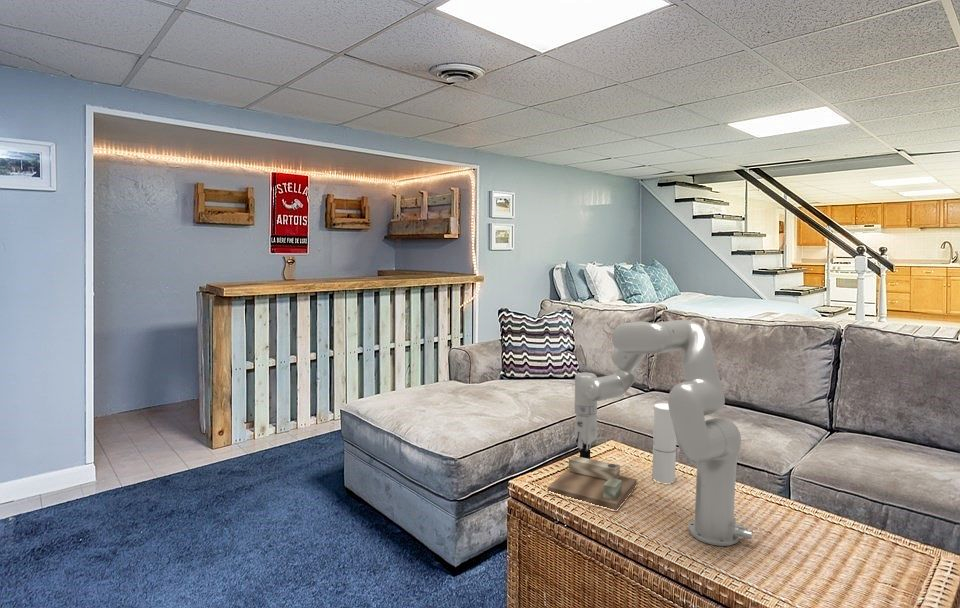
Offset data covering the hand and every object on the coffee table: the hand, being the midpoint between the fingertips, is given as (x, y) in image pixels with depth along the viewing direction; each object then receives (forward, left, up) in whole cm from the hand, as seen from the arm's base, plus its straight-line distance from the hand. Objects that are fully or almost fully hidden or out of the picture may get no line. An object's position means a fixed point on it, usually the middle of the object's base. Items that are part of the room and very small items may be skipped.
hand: (584, 460), depth 188 cm
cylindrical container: (-25, -6, -4) cm, 26 cm away
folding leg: (-6, +8, -1) cm, 10 cm away
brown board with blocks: (-8, +14, -4) cm, 16 cm away
